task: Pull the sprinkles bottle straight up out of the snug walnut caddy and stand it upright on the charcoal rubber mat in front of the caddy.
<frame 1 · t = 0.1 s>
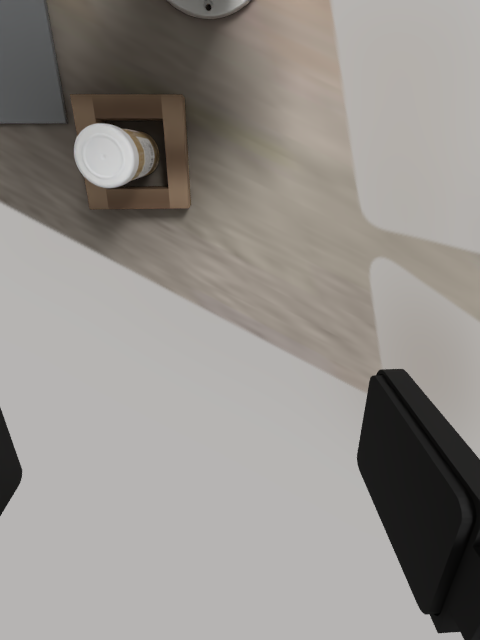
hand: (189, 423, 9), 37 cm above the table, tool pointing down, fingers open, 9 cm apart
sprinkles bottle: (139, 154, 40), resting in walnut caddy
walnut caddy: (139, 154, 40), on the table
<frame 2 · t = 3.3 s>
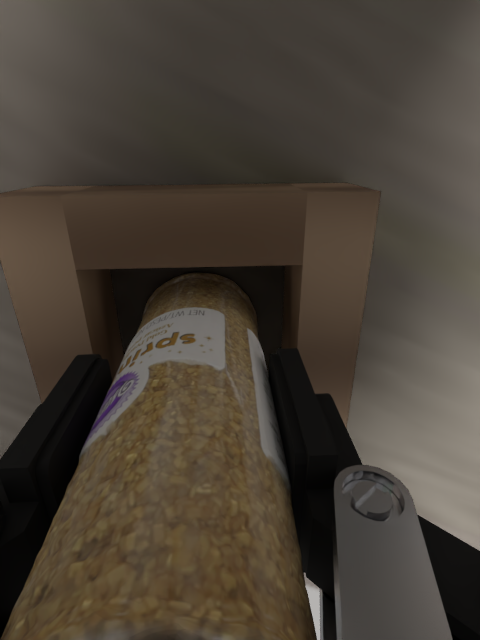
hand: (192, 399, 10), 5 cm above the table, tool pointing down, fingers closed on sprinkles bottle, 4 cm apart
sprinkles bottle: (201, 322, 15), resting in walnut caddy, touching gripper
walnut caddy: (201, 324, 15), on the table
when the fingers open (7 cm above the table, at t = 9.6 s): sprinkles bottle drops 1 cm, resting on charcoal mat.
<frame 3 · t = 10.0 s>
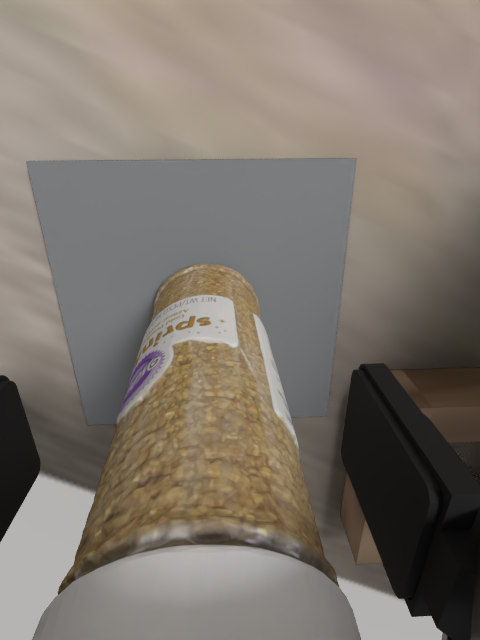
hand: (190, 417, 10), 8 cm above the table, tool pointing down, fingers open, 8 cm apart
sprinkles bottle: (207, 310, 16), resting on charcoal mat
charcoal mat: (203, 305, 16), on the table
walnut caddy: (441, 447, 21), on the table
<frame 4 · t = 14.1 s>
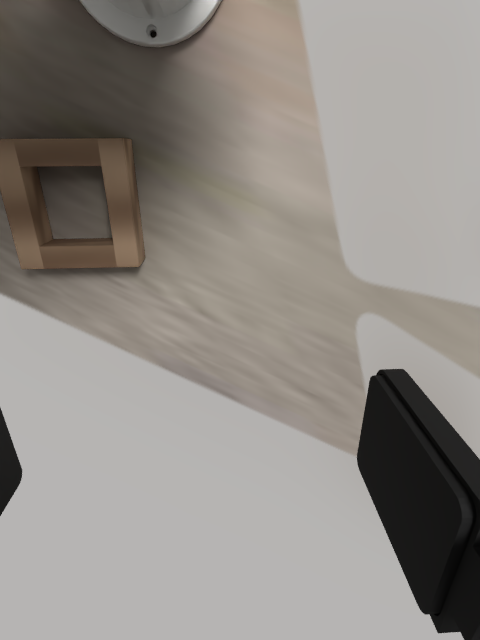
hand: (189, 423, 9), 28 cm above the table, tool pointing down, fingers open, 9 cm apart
walnut caddy: (81, 203, 34), on the table
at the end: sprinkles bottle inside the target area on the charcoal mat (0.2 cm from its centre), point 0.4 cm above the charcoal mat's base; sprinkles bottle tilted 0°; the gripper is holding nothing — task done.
